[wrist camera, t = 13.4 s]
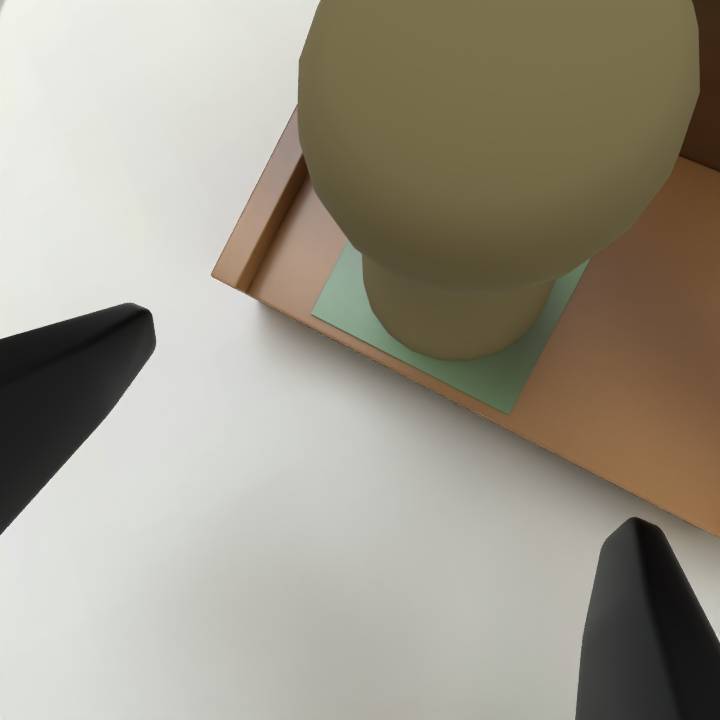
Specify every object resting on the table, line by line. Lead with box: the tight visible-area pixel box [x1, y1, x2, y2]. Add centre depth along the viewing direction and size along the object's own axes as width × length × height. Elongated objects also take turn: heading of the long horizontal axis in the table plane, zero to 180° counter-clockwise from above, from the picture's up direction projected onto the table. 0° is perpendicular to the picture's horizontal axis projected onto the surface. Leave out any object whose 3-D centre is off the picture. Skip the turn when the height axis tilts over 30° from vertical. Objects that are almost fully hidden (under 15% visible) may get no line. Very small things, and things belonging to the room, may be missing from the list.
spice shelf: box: [211, 0, 720, 538], centre depth 13 cm, size 11×19×13 cm, turn 62°
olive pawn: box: [297, 0, 700, 361], centre depth 11 cm, size 6×6×11 cm
